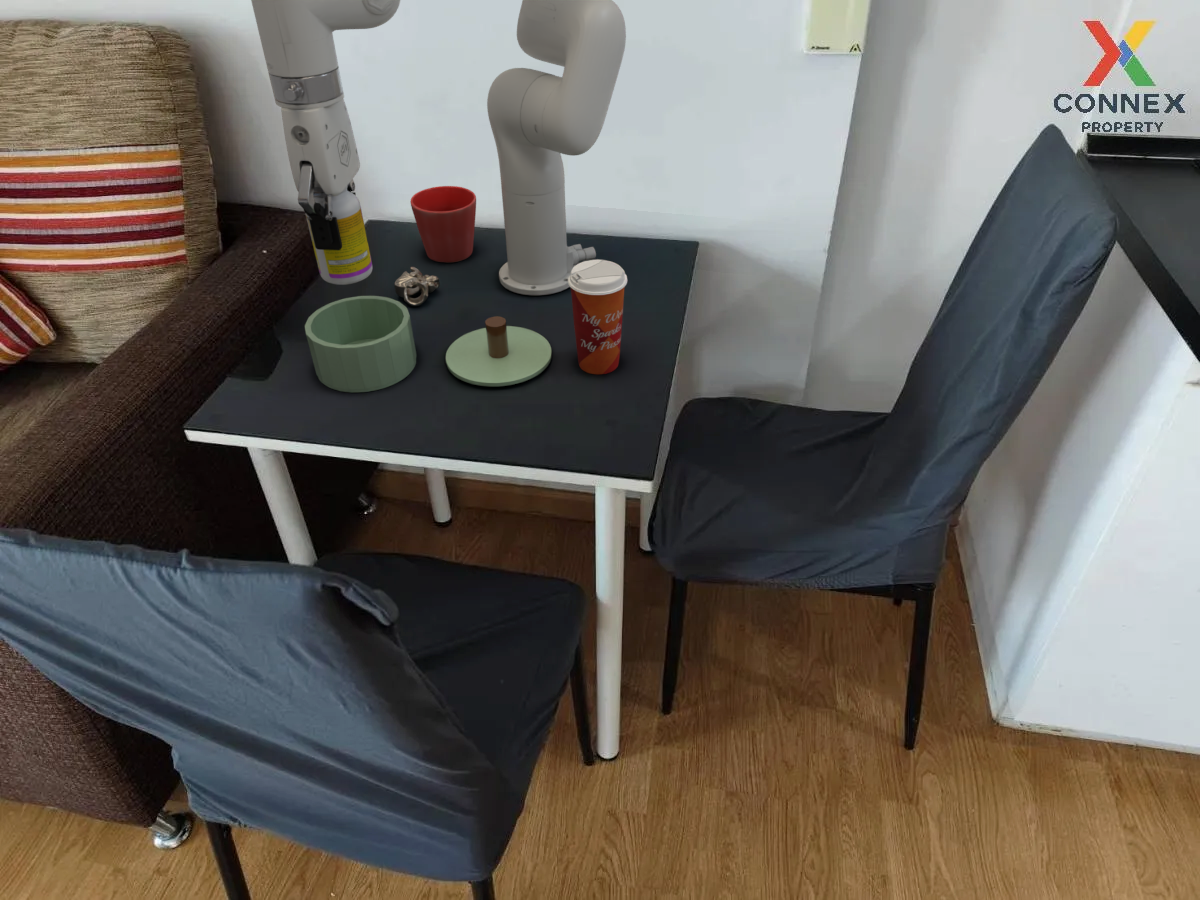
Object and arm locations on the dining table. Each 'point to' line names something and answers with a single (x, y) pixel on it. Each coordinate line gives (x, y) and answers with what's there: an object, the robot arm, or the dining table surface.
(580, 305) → the paper cup
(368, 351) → the pot
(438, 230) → the flower pot
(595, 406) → the dining table surface
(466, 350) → the pot lid
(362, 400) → the dining table surface
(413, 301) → the ornament
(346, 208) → the supplement bottle
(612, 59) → the robot arm
